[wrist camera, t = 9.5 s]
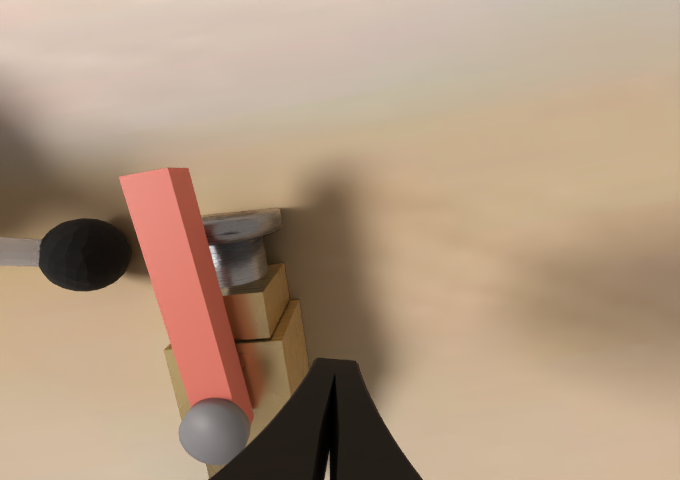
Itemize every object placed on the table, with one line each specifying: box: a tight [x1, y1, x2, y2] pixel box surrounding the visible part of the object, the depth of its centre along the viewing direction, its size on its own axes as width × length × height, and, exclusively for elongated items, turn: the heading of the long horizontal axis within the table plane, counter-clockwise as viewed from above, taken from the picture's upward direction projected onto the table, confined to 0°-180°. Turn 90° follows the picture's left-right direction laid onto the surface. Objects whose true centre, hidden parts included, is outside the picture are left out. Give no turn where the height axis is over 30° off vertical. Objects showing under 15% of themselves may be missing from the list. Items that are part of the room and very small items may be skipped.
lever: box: [119, 168, 254, 465], centre depth 14 cm, size 13×3×2 cm, turn 10°
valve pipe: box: [164, 208, 309, 478], centre depth 19 cm, size 18×6×6 cm, turn 6°
